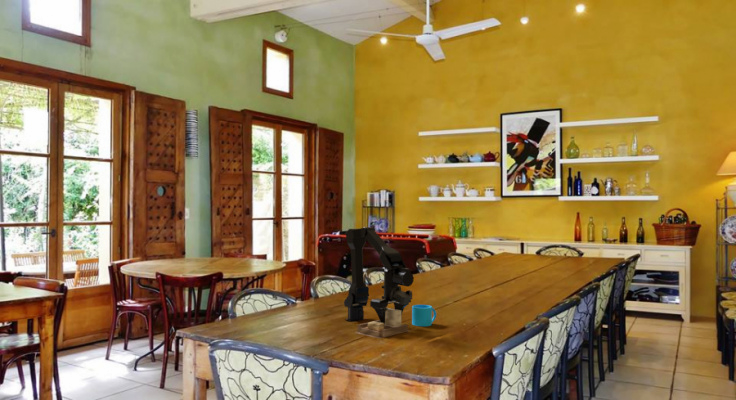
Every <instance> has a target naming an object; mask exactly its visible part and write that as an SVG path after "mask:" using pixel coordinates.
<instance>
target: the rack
mask: <svg viewBox="0 0 736 400" xmlns="http://www.w3.org/2000/svg"><path fill="white" fill-rule="evenodd" d="M373 321H374V322H380V323H381V321H380V319H376V320H373ZM373 321H371V322H373ZM369 322H370V321H368V322H365V323H360V324H357V331H355V332H354V334H359V335H363V336H367V337H371V338H376V339H384V338H388V337H392V336H395V335H399V334H402V333H406V332H410V330H409V329H408V324H406V323H404V324H401V325H400V326H396V327H394V326H389V325H385V324H384V330H381V335H380V332H378V331H374V330H369V329H365V327H368V323H369Z"/></svg>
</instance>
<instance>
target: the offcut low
mask: <svg viewBox="0 0 736 400" xmlns="http://www.w3.org/2000/svg"><path fill="white" fill-rule="evenodd" d="M365 329H369V328H368V327H365ZM369 330H374V331H378V332H380V335H381V330H384V328H383V329H380V330H375V329H369Z"/></svg>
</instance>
